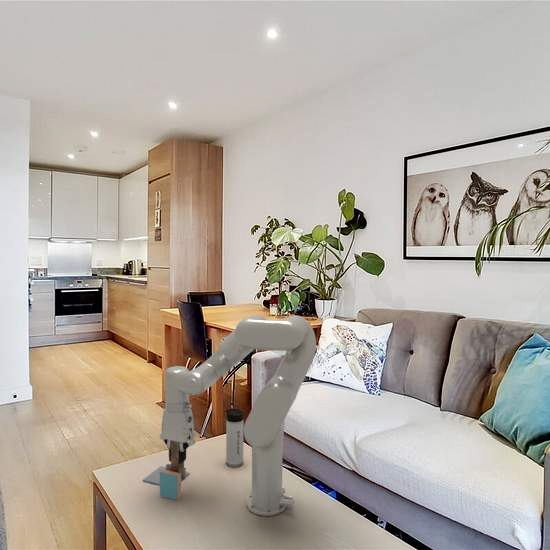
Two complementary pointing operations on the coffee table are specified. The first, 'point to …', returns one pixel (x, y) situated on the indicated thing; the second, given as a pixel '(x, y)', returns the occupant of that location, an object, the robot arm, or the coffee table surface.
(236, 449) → the travel mug
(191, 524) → the coffee table surface
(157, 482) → the mat
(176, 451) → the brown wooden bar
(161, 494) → the tile
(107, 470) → the coffee table surface
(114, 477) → the coffee table surface
